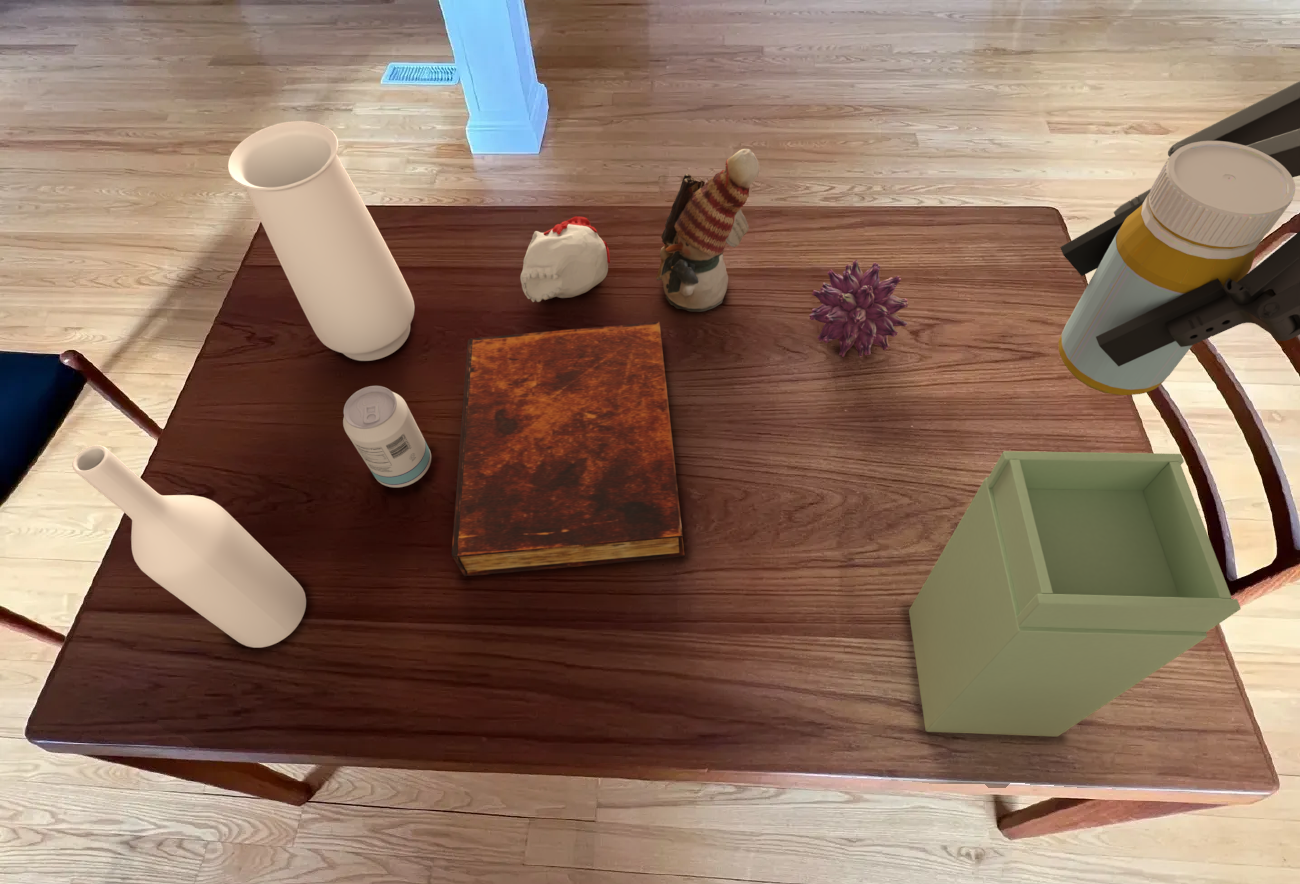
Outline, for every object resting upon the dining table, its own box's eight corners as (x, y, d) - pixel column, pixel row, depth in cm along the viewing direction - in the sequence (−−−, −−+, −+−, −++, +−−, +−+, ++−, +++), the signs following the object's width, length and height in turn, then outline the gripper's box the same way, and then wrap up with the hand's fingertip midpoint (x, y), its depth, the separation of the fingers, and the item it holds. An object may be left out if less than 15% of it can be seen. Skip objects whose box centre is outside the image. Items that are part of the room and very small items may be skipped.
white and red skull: (525, 317, 105) (540, 250, 115) (609, 316, 104) (617, 249, 114) (512, 261, 98) (530, 195, 108) (602, 260, 98) (612, 193, 108)
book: (476, 364, 102) (466, 338, 98) (662, 348, 102) (660, 321, 98) (462, 576, 85) (450, 556, 81) (684, 556, 85) (683, 535, 81)
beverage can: (432, 437, 96) (401, 375, 86) (435, 485, 92) (403, 425, 82) (374, 449, 95) (337, 387, 85) (375, 497, 91) (336, 439, 81)
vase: (430, 296, 109) (357, 113, 86) (412, 370, 102) (328, 191, 79) (338, 298, 110) (241, 117, 87) (314, 371, 103) (201, 195, 79)
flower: (791, 340, 103) (857, 284, 105) (859, 393, 97) (928, 333, 99) (783, 284, 94) (856, 223, 95) (858, 339, 88) (934, 274, 89)
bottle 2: (1101, 414, 52) (1227, 235, 39) (1033, 341, 55) (1129, 156, 43) (1187, 380, 53) (1337, 196, 40) (1116, 310, 56) (1232, 122, 44)
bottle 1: (238, 580, 86) (53, 420, 61) (312, 572, 86) (157, 409, 61) (222, 652, 82) (15, 511, 57) (301, 644, 82) (128, 499, 57)
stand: (1029, 613, 80) (1180, 449, 55) (1058, 736, 73) (1243, 613, 48) (908, 610, 81) (1002, 447, 56) (925, 731, 74) (1040, 608, 49)
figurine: (669, 245, 112) (665, 119, 96) (756, 258, 110) (767, 130, 94) (645, 313, 105) (636, 189, 89) (738, 328, 103) (746, 204, 86)
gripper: (1779, 237, 32) (1166, 460, 46) (1492, -12, 43) (1070, 229, 57) (1787, 124, 28) (1112, 407, 42) (1467, -119, 39) (1020, 169, 53)
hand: (1089, 304), depth 50 cm, fingers closed on bottle 2, 7 cm apart
